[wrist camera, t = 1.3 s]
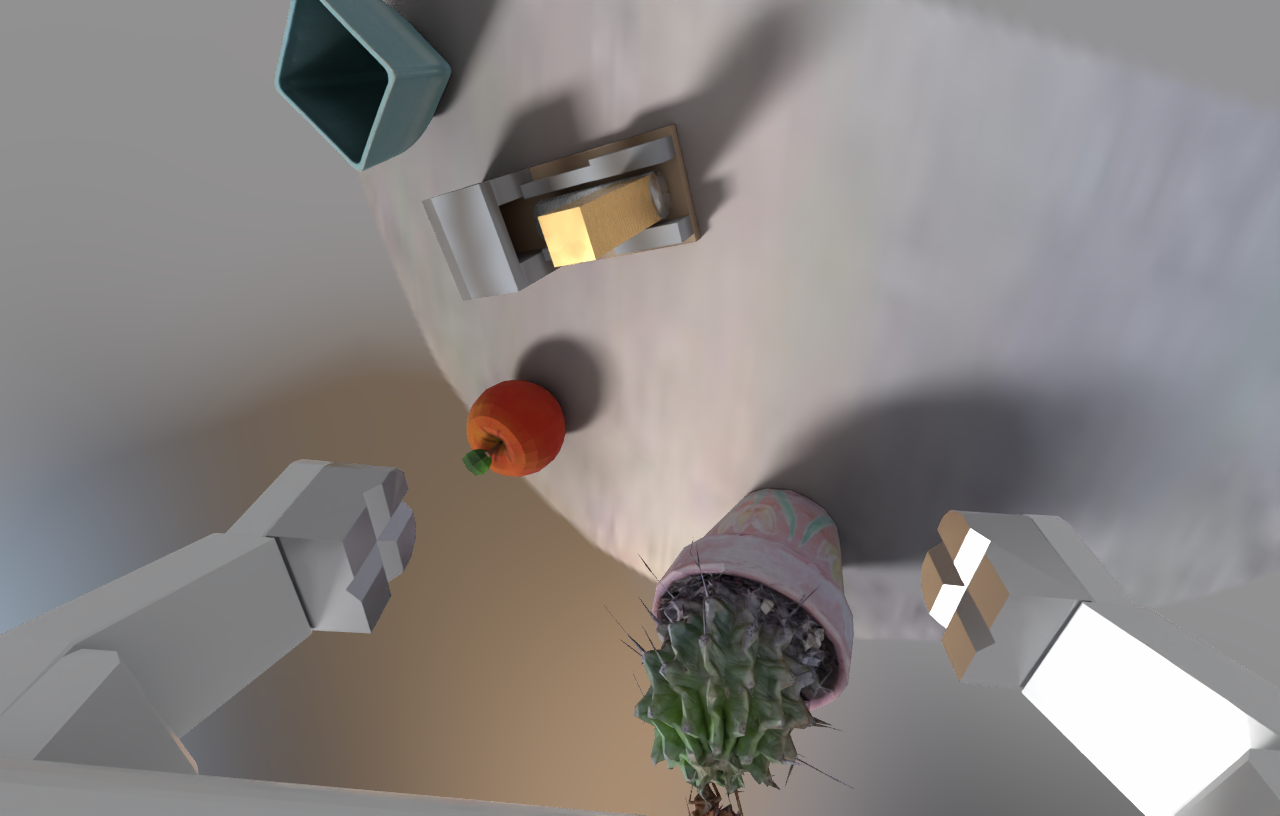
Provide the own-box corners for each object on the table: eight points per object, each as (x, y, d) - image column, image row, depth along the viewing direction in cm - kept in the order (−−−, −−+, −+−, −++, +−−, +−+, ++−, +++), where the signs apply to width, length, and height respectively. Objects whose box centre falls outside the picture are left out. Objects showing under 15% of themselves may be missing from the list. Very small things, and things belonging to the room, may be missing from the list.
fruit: (598, 426, 58) (543, 485, 51) (543, 456, 64) (486, 513, 57) (539, 349, 57) (472, 399, 49) (488, 388, 63) (422, 437, 55)
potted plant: (807, 403, 47) (697, 656, 28) (929, 581, 50) (904, 913, 31) (651, 470, 58) (498, 683, 39) (759, 612, 62) (666, 870, 43)
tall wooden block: (663, 166, 41) (579, 204, 32) (674, 212, 42) (596, 261, 33) (551, 196, 46) (451, 235, 37) (564, 236, 47) (471, 283, 39)
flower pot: (482, 66, 45) (395, 73, 38) (441, 155, 50) (359, 175, 44) (399, -23, 44) (295, -32, 37) (367, 78, 50) (271, 86, 43)
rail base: (675, 123, 40) (629, 138, 35) (700, 238, 44) (662, 267, 38) (481, 182, 50) (421, 201, 44) (515, 272, 53) (462, 300, 48)
